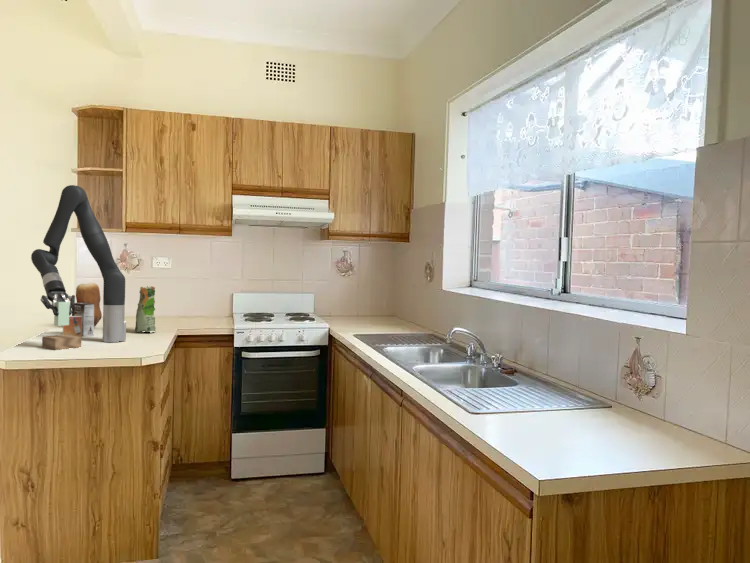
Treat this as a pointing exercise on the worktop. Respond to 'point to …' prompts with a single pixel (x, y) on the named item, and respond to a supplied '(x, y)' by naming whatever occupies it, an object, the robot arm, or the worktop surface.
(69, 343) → the riser
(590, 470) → the worktop surface
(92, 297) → the butternut squash
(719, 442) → the worktop surface
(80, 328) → the small box
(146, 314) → the pouch
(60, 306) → the sage green pillar
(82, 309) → the coffee box
